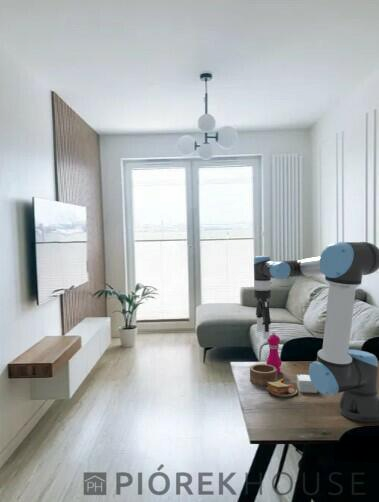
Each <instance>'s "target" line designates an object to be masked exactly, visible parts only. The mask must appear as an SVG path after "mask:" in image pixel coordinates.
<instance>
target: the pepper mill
mask: <svg viewBox="0 0 379 502" xmlns="http://www.w3.org/2000/svg"><path fill="white" fill-rule="evenodd" d="M280 342H281V339H280V337H279V336H278V335H277V334H276V332H275V331H272V332H271V335H270V339H267V344H268V349H269V352H268V356H267V358H266V364H267V365H272V366H274V367H276V369H277V375H278V374H280V373H281V367H282V360H281V357H280V354H279V348H280V345H279V344H280Z"/></svg>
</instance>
